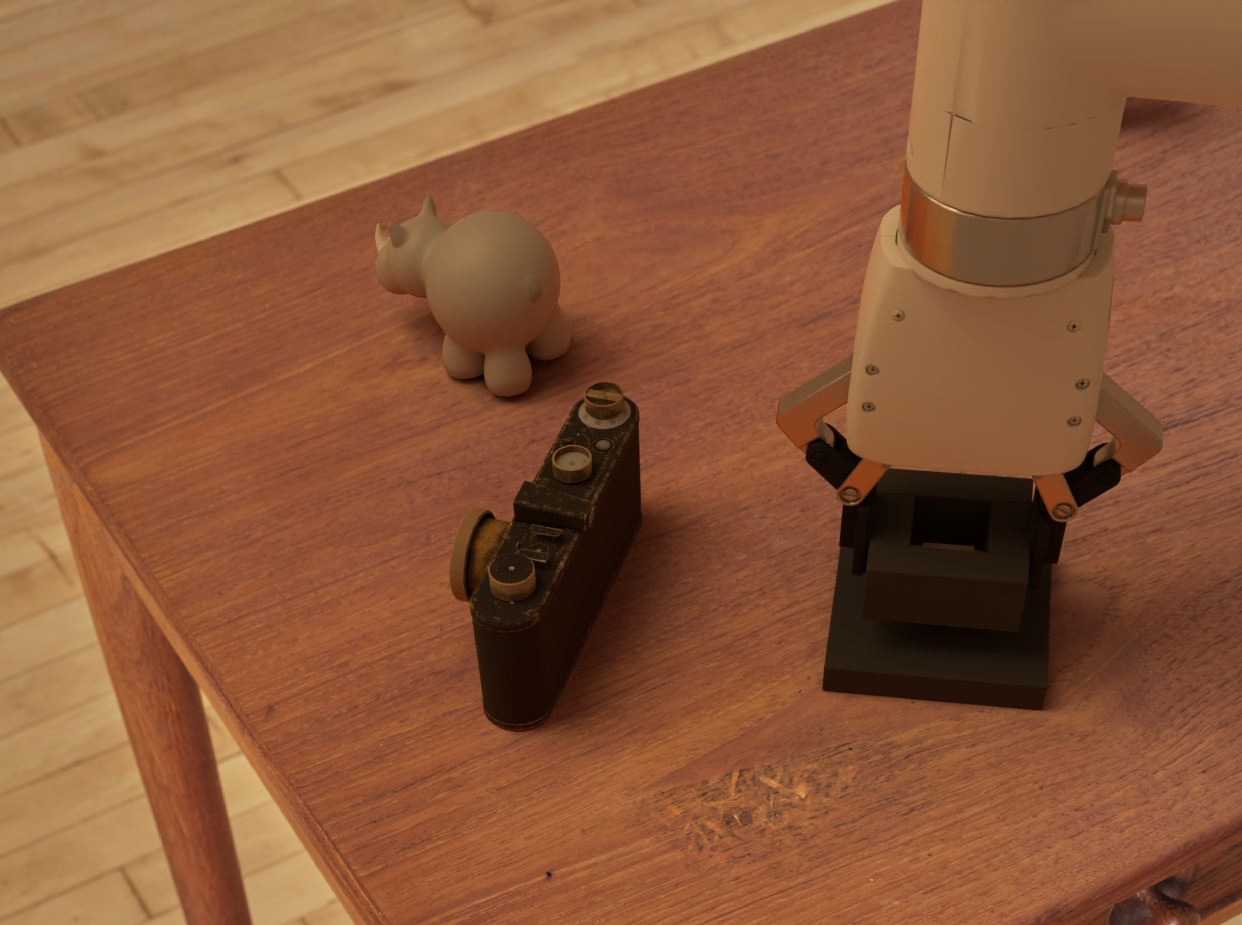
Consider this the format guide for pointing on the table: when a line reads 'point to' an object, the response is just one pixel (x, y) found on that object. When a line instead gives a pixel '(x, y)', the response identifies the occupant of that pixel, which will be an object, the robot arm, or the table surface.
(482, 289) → the chubby cartoon animal
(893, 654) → the base pad
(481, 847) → the table surface
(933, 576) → the black square ring block
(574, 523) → the camera
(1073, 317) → the robot arm
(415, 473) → the table surface
